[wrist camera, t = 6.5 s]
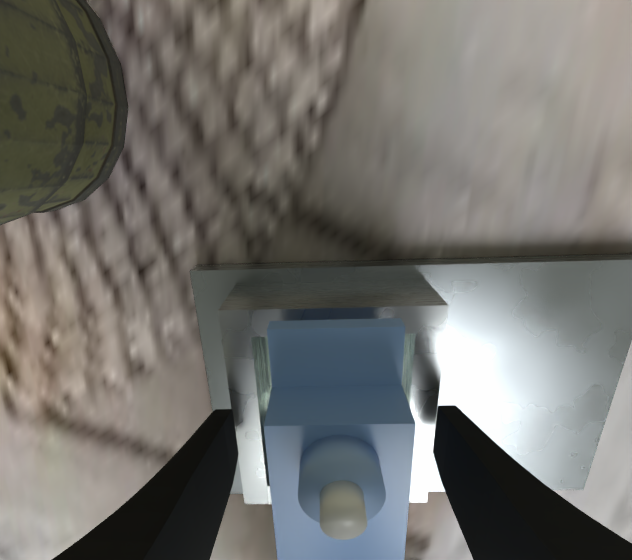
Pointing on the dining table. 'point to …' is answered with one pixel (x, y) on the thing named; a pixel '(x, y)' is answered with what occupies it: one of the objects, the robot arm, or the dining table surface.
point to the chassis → (439, 349)
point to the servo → (339, 439)
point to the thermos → (56, 105)
